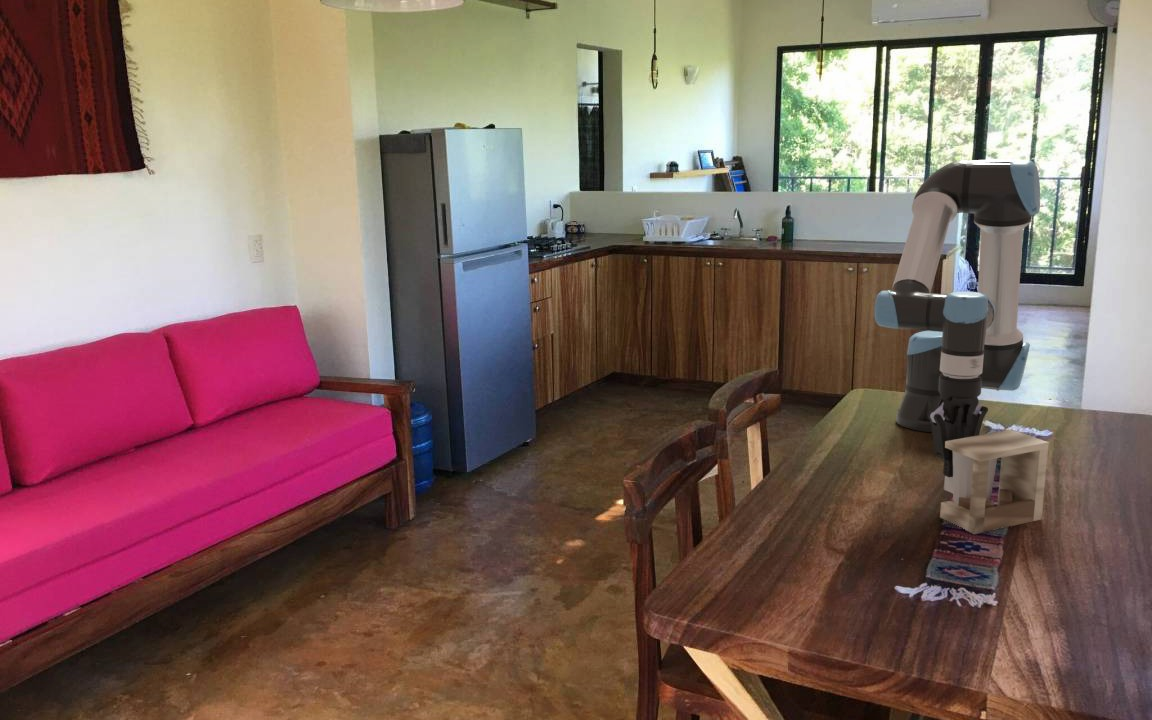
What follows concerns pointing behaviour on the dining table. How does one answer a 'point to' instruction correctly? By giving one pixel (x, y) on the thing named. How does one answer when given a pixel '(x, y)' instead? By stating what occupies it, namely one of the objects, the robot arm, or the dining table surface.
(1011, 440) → the shelf
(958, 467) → the cup
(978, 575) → the dining table surface
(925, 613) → the dining table surface
